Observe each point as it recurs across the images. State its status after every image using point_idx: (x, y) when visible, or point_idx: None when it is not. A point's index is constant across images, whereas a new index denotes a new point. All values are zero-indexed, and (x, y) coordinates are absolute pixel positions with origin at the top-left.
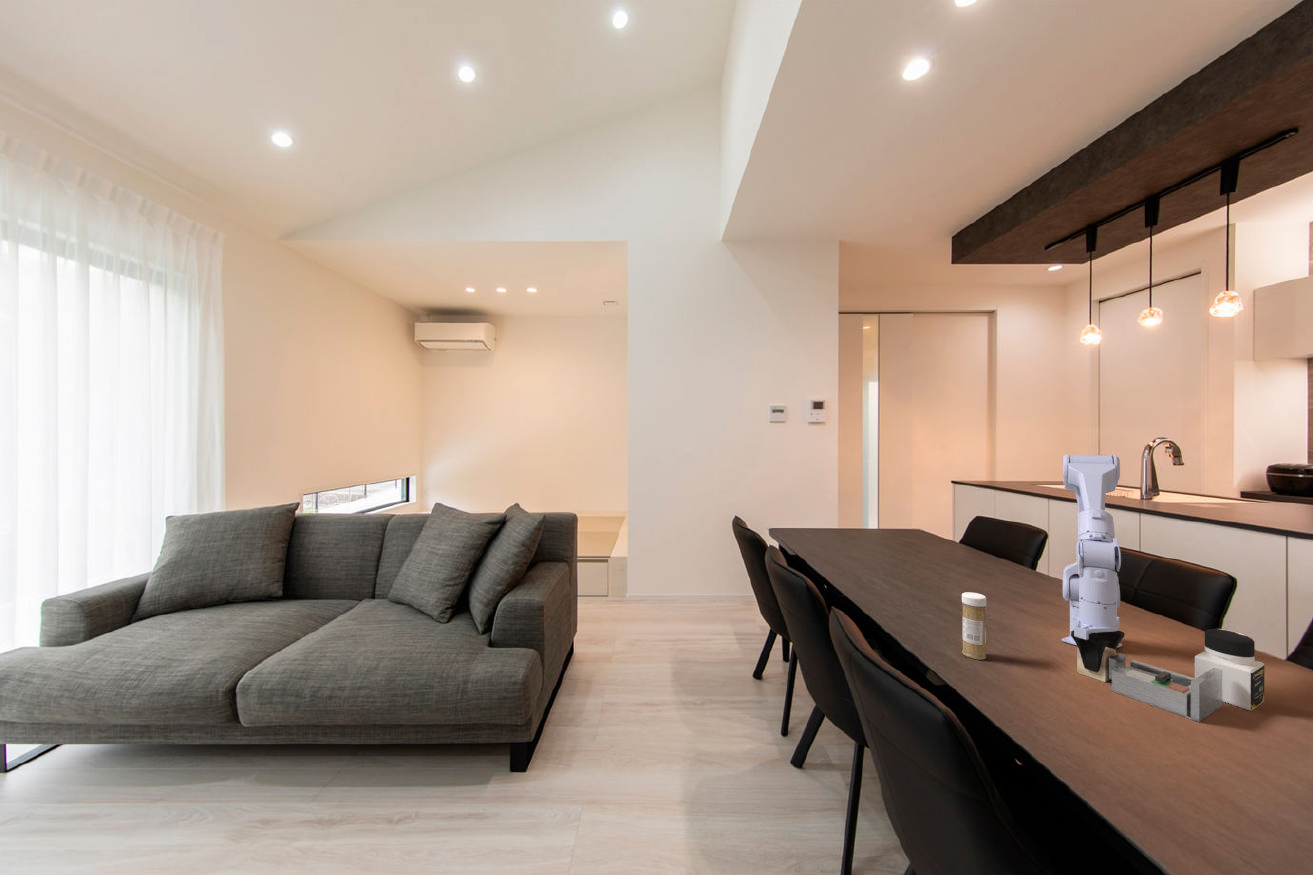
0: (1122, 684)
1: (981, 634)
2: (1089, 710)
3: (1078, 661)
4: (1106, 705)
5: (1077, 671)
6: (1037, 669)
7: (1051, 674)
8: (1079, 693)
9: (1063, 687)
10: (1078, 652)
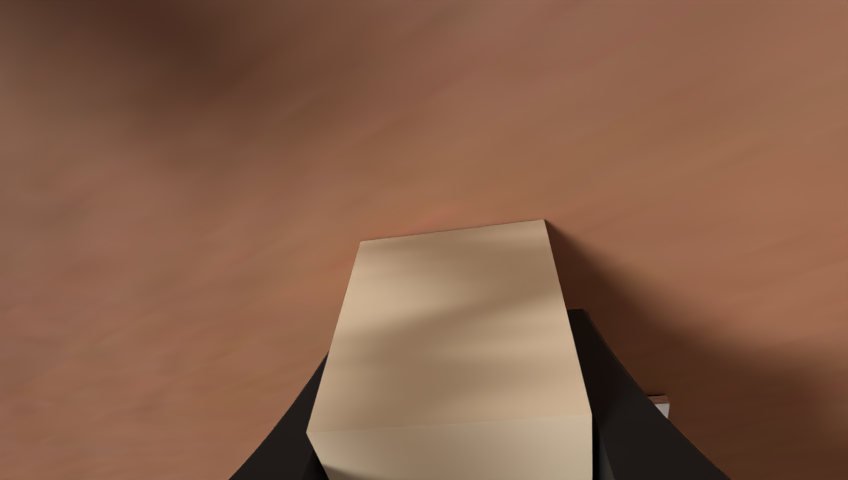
0: None
1: None
2: (24, 456)
3: (347, 308)
4: (145, 460)
5: (359, 247)
6: (63, 102)
7: (121, 198)
8: (105, 381)
9: (61, 324)
10: (329, 375)
